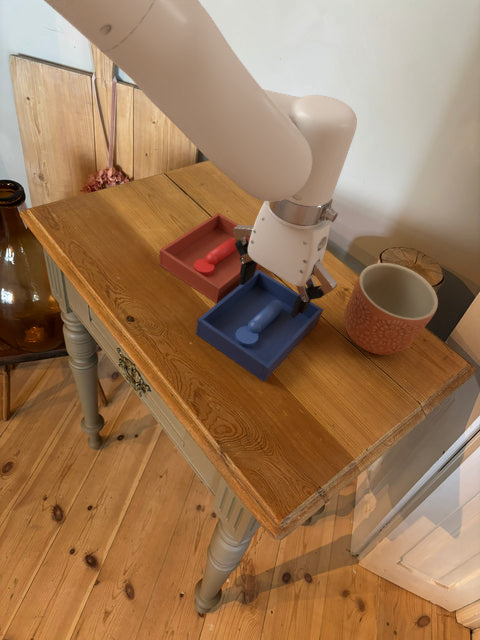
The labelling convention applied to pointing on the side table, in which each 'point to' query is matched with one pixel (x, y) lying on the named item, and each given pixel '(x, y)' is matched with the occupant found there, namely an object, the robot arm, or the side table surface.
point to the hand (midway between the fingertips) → (271, 296)
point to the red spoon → (215, 257)
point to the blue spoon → (258, 324)
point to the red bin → (197, 246)
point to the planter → (388, 308)
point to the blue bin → (272, 339)
